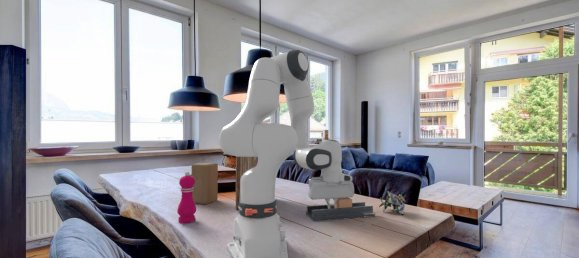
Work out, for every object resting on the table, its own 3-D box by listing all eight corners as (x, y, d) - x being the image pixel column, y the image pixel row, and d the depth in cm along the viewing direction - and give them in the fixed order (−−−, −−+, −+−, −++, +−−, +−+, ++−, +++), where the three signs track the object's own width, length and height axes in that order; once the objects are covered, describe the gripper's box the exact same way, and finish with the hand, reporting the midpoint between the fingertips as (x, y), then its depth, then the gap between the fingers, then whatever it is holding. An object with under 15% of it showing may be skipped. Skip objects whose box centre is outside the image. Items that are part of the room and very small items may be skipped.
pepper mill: (190, 216, 112) (190, 170, 112) (199, 220, 107) (200, 171, 108) (173, 221, 106) (174, 171, 107) (183, 225, 102) (183, 173, 102)
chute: (313, 221, 107) (313, 211, 107) (306, 214, 116) (306, 205, 116) (374, 216, 114) (374, 206, 114) (362, 209, 123) (362, 201, 123)
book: (253, 211, 120) (254, 146, 121) (235, 209, 123) (235, 145, 123) (271, 198, 145) (271, 143, 145) (255, 197, 147) (255, 143, 148)
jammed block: (339, 214, 112) (339, 200, 112) (334, 211, 117) (334, 197, 117) (352, 213, 114) (352, 199, 114) (346, 210, 118) (346, 196, 119)
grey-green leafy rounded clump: (401, 227, 116) (406, 209, 109) (375, 219, 120) (379, 202, 113) (403, 207, 124) (408, 190, 117) (379, 201, 128) (382, 183, 121)
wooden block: (190, 203, 134) (190, 164, 134) (202, 198, 143) (202, 162, 144) (207, 204, 131) (207, 164, 131) (218, 200, 141) (218, 162, 141)
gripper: (311, 178, 109) (311, 212, 109) (355, 176, 114) (355, 208, 114) (306, 176, 115) (306, 207, 115) (349, 174, 120) (349, 205, 120)
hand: (331, 208), depth 114 cm, fingers closed
